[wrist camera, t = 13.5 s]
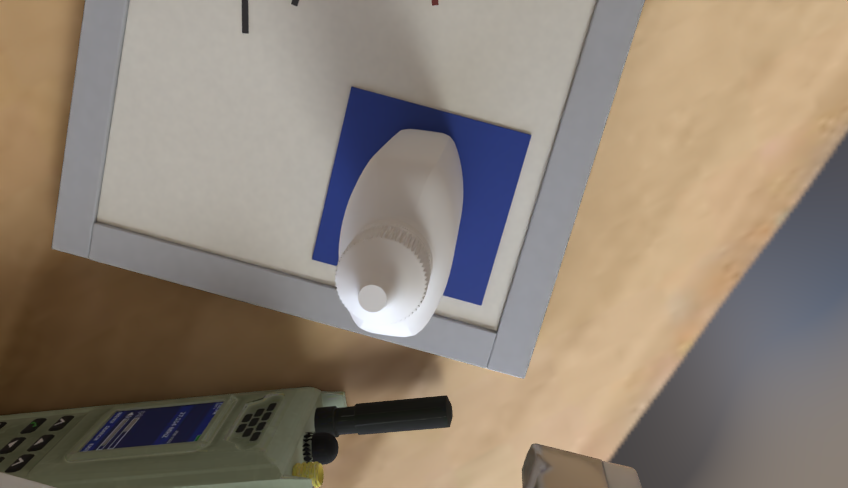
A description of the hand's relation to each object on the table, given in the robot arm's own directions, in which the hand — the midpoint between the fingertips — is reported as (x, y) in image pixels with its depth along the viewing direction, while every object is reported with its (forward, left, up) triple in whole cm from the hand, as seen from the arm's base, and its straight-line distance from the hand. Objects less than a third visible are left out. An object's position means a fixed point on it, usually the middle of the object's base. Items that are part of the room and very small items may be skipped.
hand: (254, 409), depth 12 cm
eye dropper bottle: (+1, +1, -20) cm, 20 cm away
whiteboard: (-3, -3, -21) cm, 21 cm away
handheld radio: (+14, -7, -21) cm, 26 cm away
